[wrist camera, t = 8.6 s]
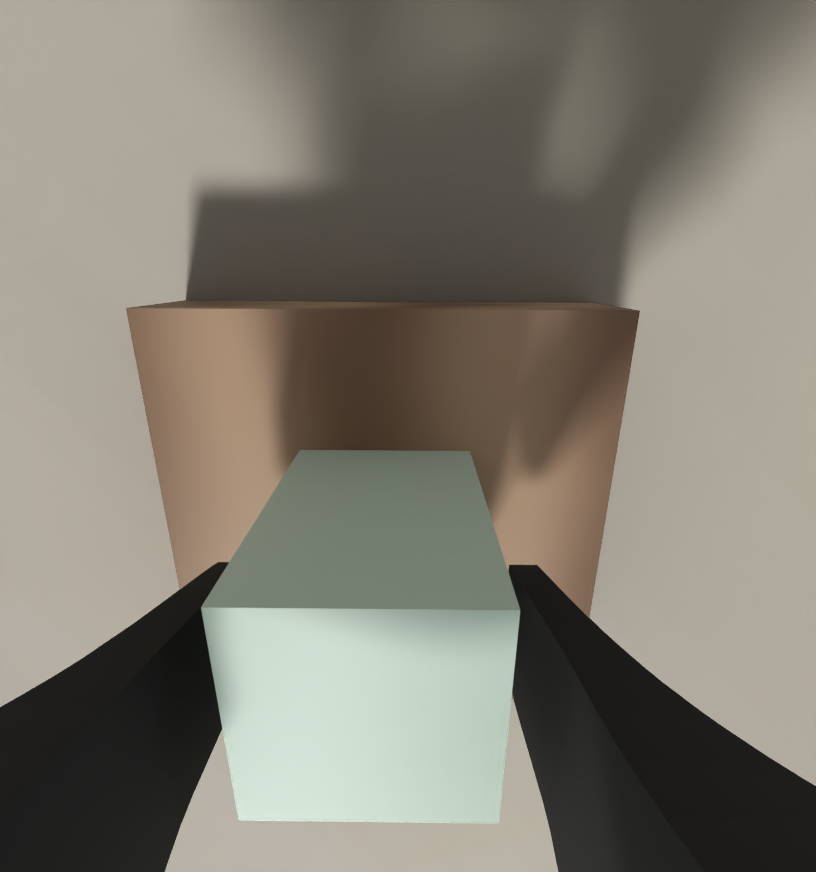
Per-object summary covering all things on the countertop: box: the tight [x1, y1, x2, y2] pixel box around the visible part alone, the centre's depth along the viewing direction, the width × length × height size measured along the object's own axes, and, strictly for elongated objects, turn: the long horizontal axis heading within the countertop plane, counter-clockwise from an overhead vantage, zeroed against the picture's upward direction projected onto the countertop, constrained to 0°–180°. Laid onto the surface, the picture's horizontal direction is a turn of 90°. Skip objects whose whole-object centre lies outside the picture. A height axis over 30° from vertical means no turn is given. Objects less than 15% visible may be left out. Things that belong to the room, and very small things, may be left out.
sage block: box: [201, 450, 520, 823], centre depth 10 cm, size 4×4×6 cm
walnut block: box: [126, 301, 640, 699], centre depth 14 cm, size 12×12×3 cm
